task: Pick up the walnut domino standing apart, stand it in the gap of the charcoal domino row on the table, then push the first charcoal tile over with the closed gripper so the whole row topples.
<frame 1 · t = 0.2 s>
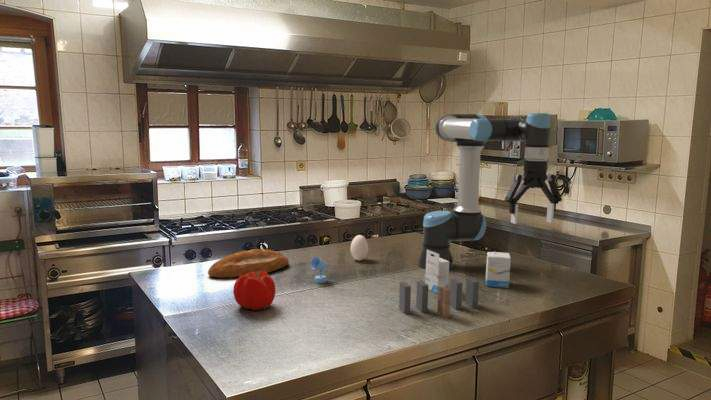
hand: (531, 222, 177), 28 cm above the counter, fingers open, 13 cm apart
egg: (359, 260, 232), on the counter
domino 3: (421, 309, 172), on the counter
tomato: (255, 307, 172), on the counter
domino 4: (404, 310, 170), on the counter
domino 1: (471, 305, 176), on the counter
domino 2: (455, 306, 175), on the counter
ink box 2: (436, 290, 192), on the counter
spotlight: (319, 281, 200), on the counter
bread: (250, 271, 213), on the counter
walnut domino: (443, 314, 167), on the counter
ink box: (497, 284, 201), on the counter
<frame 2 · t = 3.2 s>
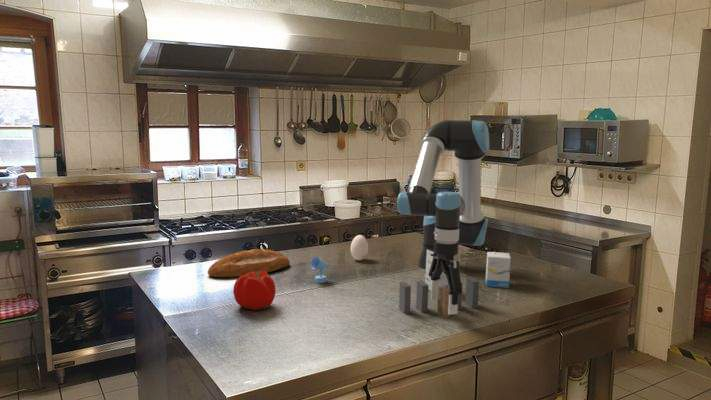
hand: (443, 306, 167), 3 cm above the counter, fingers open, 13 cm apart
nothing on the counter moved.
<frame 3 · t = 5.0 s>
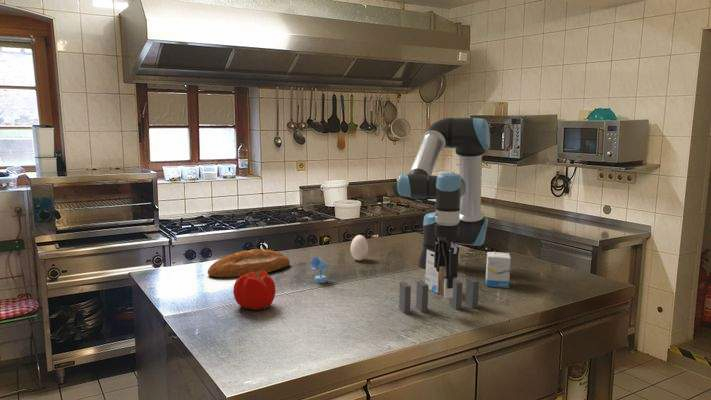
hand: (444, 294, 167), 7 cm above the counter, fingers closed on walnut domino, 5 cm apart
walnut domino: (444, 295, 167), point 6 cm above the counter, touching gripper
everything else where it was.
when the fingers open (0 cm above the counter, at t = 9.1 s): walnut domino stays where it is, on the counter.
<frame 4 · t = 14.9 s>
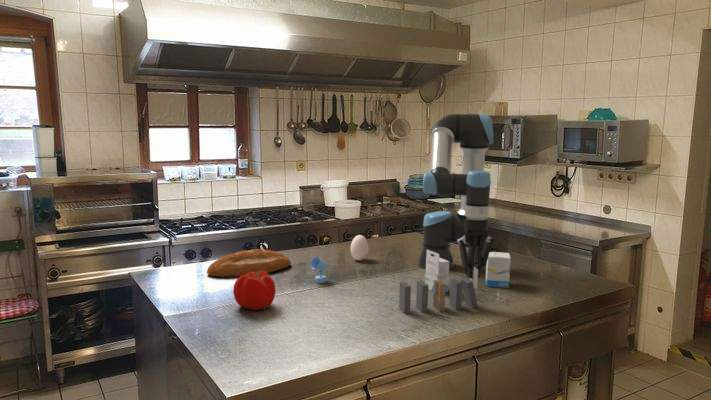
hand: (473, 287, 175), 6 cm above the counter, fingers closed
domino 1: (471, 304, 176), on the counter, tilted 15°
walnut domino: (438, 308, 173), on the counter
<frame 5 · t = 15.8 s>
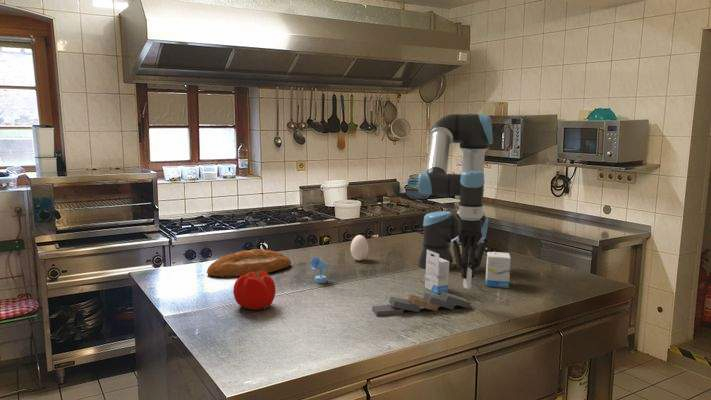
hand: (467, 287, 175), 6 cm above the counter, fingers closed
domino 3: (417, 306, 171), point 1 cm above the counter, tilted 75°, touching domino 4, walnut domino
domino 4: (400, 309, 170), on the counter, tilted 90°, touching domino 3
domino 1: (466, 303, 176), point 1 cm above the counter, tilted 70°, touching domino 2
domino 2: (450, 304, 174), point 1 cm above the counter, tilted 70°, touching domino 1, walnut domino
walnut domino: (434, 306, 173), point 1 cm above the counter, tilted 70°, touching domino 2, domino 3
everything else where it was.
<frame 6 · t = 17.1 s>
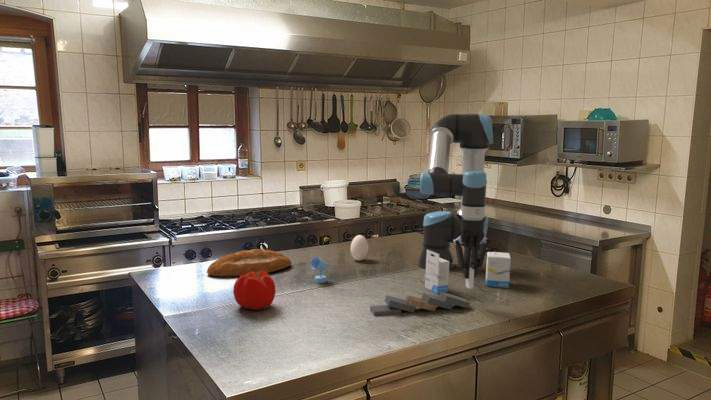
hand: (469, 287, 175), 6 cm above the counter, fingers closed
domino 3: (412, 307, 171), point 1 cm above the counter, tilted 73°, touching domino 4, walnut domino
domino 2: (449, 304, 174), point 1 cm above the counter, tilted 71°, touching domino 1
walnut domino: (432, 306, 172), point 1 cm above the counter, tilted 72°, touching domino 3
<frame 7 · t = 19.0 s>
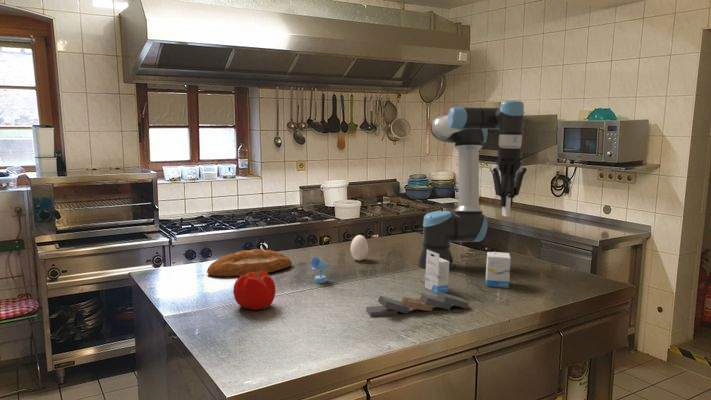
hand: (505, 215, 180), 29 cm above the counter, fingers closed
domino 3: (404, 308, 170), point 1 cm above the counter, tilted 68°, touching domino 4
domino 4: (395, 310, 169), on the counter, tilted 90°, touching domino 3
domino 2: (447, 304, 174), point 1 cm above the counter, tilted 71°, touching domino 1, walnut domino
walnut domino: (428, 305, 172), point 1 cm above the counter, tilted 75°, touching domino 2
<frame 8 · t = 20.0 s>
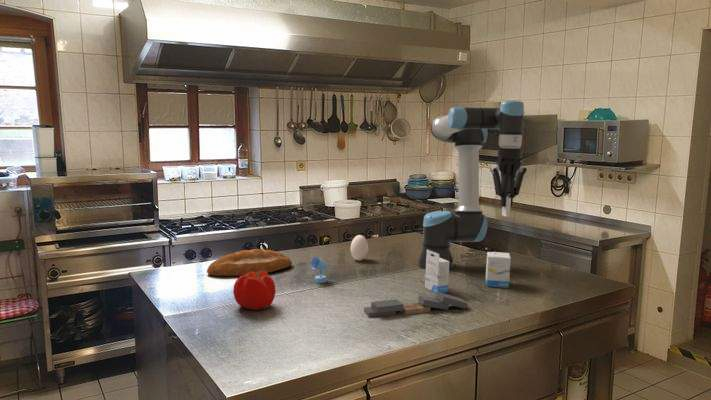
hand: (505, 215, 180), 29 cm above the counter, fingers closed
domino 3: (399, 304, 169), point 2 cm above the counter, tilted 90°, touching domino 4
domino 2: (445, 304, 174), point 1 cm above the counter, tilted 76°, touching domino 1
walnut domino: (426, 307, 172), on the counter, tilted 90°
at the end: domino 4 tilted 90°; walnut domino tilted 90°; the gripper is holding nothing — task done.
